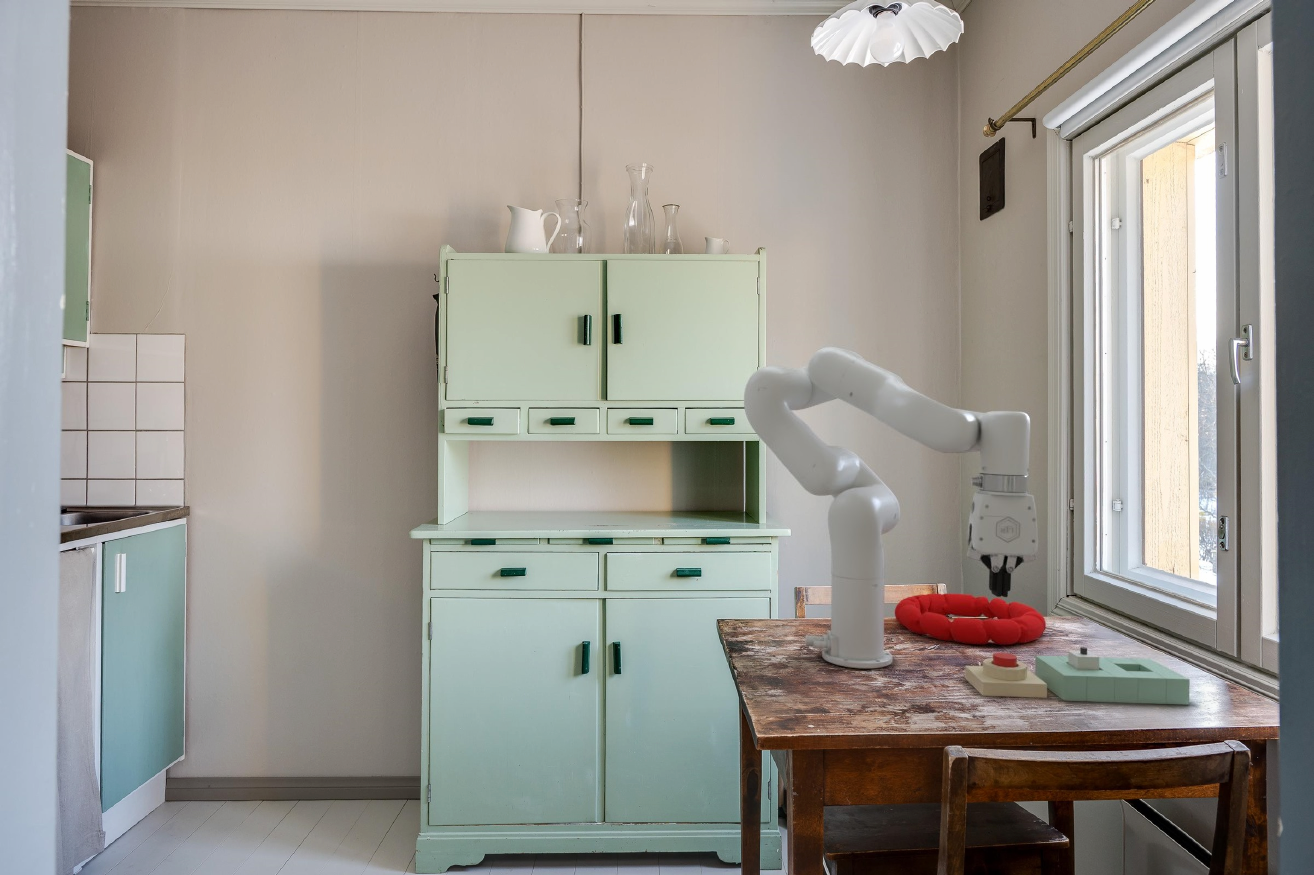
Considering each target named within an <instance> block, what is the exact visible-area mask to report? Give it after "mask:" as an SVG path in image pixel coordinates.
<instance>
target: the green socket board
mask: <svg viewBox="0 0 1314 875" xmlns="http://www.w3.org/2000/svg"><path fill="white" fill-rule="evenodd" d="M1098 657H1099V670H1077V669H1075V668H1074V667H1072V666H1071V665H1069V664H1068V655H1067V656H1065V655H1064V656H1062V655H1035V657H1034V658H1035V659H1034V660H1035V661H1034V662H1035V664H1034V665H1035V666H1034V675H1036V676H1037V677H1038V678H1040V679H1041V680H1042V681H1044V682H1045V683H1046V684H1047V690H1049V691H1051V692H1052V693H1054V695H1055V696H1057V697H1058V698H1060V699H1061V700H1063V701H1070V702H1096V703H1097V702H1098V703H1100V702H1102V703H1129V704H1152V705H1156V704H1157V705H1181V706H1183V705H1184V706H1185V705H1187V706H1189V705H1190V681H1191V680H1190V678H1188V677H1186V676H1184V675H1182V674H1180V673H1178V672H1176V671H1174V670H1173V669H1171V668H1169V667H1167V666H1164V665H1163V664H1161V663H1159V662H1157V661H1155V660H1153V659H1151V658H1136V657H1135V658H1134V657H1133V658H1131V657H1130V658H1129V657H1102V656H1101V657H1100V656H1098Z"/></svg>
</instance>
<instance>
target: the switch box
mask: <svg viewBox="0 0 1314 875" xmlns="http://www.w3.org/2000/svg"><path fill="white" fill-rule="evenodd" d="M964 679H966V681H967V682H968V684H970V685H971V686H972V687H973V688H974V689H975V690H976V691H977V692H978V693H980V695H981V696H985V697H986V696H987V697H1012V698H1013V697H1014V698H1044V699H1046V698H1048V688H1047V684H1046V683H1045V682H1044V681H1042V680H1041V679H1040V678H1038V677H1037V676H1036V675H1035V673H1033V672H1032V671H1030V670H1029V669H1028V665H1027V664H1026V663H1024V662H1022V661H1018V660H1017V667H1001V666H997V665H994V664H993V657H991V658H985V659H984V660H983V661H982V665H964Z"/></svg>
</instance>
